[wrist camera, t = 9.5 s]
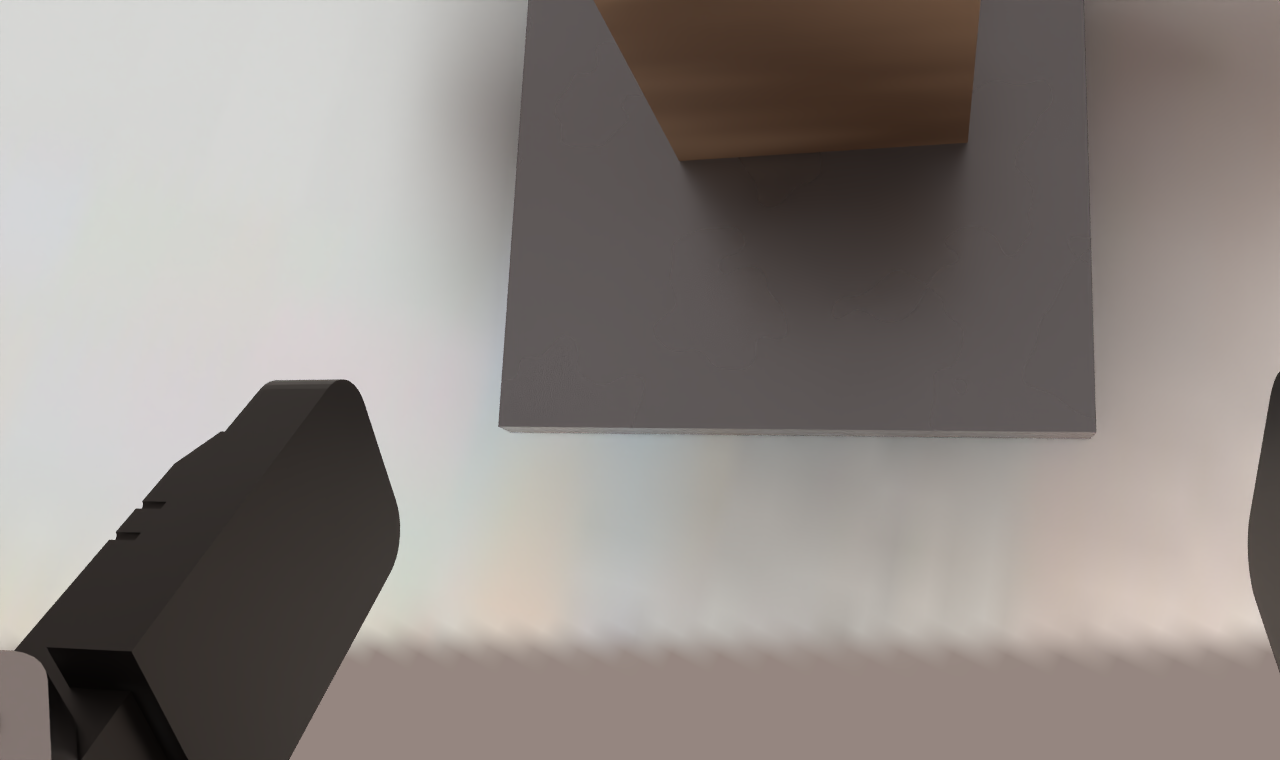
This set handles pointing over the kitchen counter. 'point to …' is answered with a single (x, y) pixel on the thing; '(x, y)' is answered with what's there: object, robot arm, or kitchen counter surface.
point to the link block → (800, 72)
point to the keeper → (802, 258)
